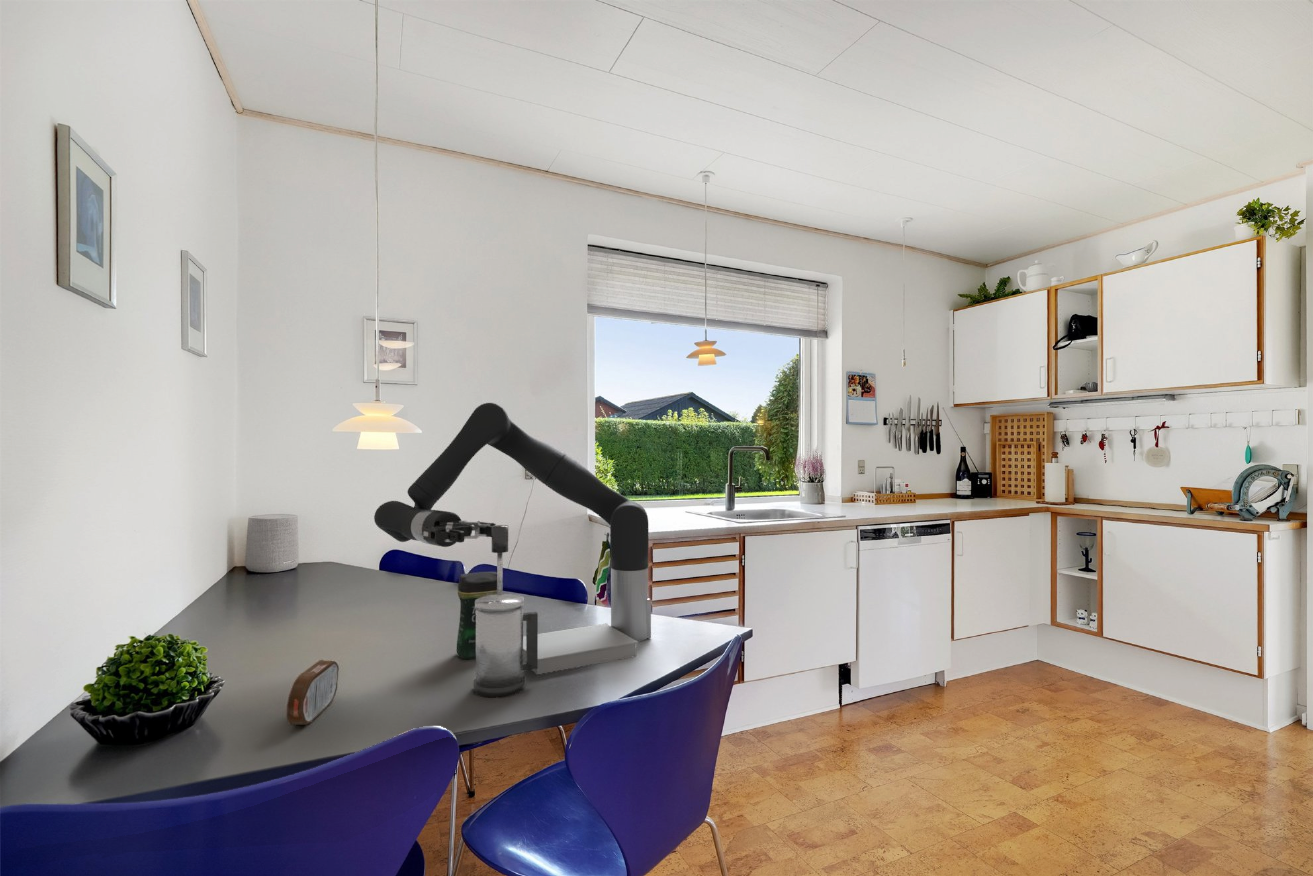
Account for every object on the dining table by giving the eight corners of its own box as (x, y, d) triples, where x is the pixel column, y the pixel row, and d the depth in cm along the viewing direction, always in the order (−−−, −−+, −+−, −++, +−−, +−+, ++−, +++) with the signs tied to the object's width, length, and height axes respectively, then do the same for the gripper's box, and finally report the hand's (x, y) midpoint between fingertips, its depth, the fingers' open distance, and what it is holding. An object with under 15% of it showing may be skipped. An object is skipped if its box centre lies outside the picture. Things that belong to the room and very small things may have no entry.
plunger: (507, 592, 126) (507, 524, 126) (509, 596, 123) (509, 526, 123) (490, 593, 125) (490, 525, 125) (492, 597, 122) (492, 527, 122)
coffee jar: (459, 663, 138) (460, 577, 138) (454, 652, 145) (454, 571, 145) (504, 656, 142) (504, 573, 142) (496, 646, 149) (496, 567, 150)
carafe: (532, 674, 131) (532, 591, 131) (541, 691, 122) (541, 602, 122) (471, 682, 127) (471, 596, 127) (475, 700, 117) (476, 608, 118)
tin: (324, 698, 119) (324, 653, 119) (341, 697, 119) (342, 652, 119) (284, 734, 104) (284, 683, 104) (304, 734, 104) (304, 682, 104)
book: (638, 641, 142) (535, 659, 130) (638, 658, 142) (535, 678, 130) (603, 622, 158) (509, 636, 146) (603, 637, 158) (509, 653, 146)
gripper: (406, 513, 133) (450, 519, 122) (465, 508, 144) (509, 513, 133) (405, 548, 133) (449, 558, 122) (464, 541, 144) (509, 549, 133)
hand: (481, 534), depth 128 cm, fingers open, 8 cm apart
